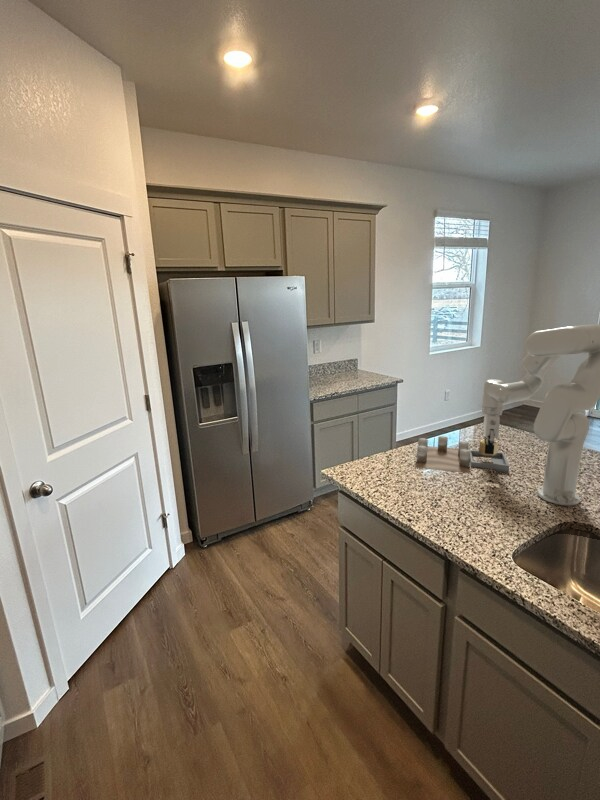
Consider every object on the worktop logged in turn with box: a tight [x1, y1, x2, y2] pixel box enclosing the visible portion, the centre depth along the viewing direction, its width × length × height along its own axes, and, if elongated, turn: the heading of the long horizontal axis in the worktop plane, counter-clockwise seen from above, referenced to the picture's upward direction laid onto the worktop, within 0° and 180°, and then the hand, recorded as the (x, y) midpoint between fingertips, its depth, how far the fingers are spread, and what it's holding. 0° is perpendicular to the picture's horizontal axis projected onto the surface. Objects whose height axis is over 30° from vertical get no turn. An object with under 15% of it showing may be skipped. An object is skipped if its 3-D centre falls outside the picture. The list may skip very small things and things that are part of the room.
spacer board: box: [416, 435, 471, 474], centre depth 169 cm, size 26×21×7 cm
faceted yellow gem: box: [478, 438, 499, 457], centre depth 163 cm, size 7×6×5 cm
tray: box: [468, 449, 510, 473], centre depth 164 cm, size 14×14×3 cm
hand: (488, 450), depth 163 cm, fingers closed on faceted yellow gem, 6 cm apart
